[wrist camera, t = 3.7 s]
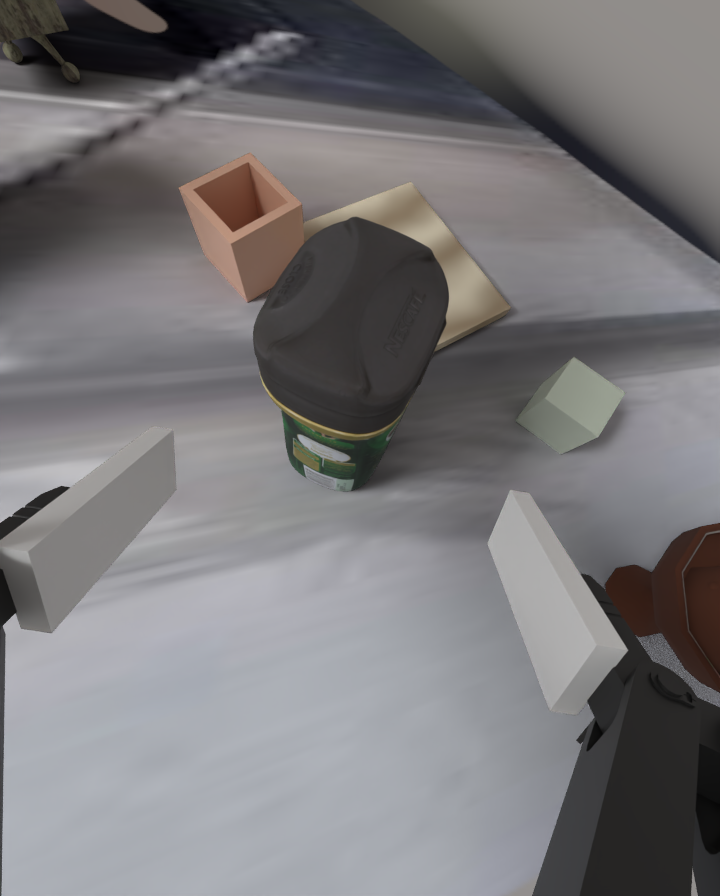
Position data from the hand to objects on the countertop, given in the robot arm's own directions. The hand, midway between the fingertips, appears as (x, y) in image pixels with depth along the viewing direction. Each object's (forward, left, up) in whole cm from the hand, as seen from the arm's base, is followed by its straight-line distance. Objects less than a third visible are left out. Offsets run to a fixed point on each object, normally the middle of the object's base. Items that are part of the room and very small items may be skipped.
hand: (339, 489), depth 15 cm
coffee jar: (-6, +4, -17) cm, 18 cm away
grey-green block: (+2, +22, -16) cm, 28 cm away
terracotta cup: (-26, +6, -16) cm, 32 cm away
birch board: (-18, +18, -16) cm, 31 cm away
